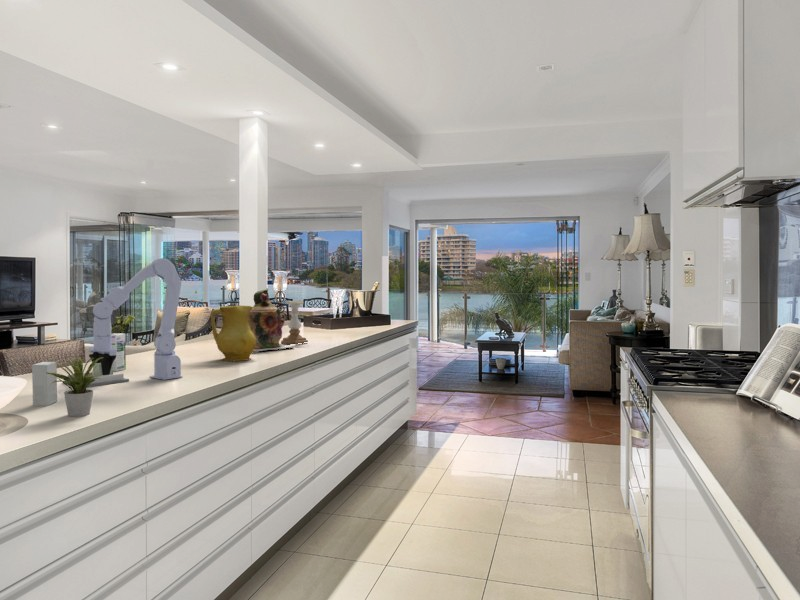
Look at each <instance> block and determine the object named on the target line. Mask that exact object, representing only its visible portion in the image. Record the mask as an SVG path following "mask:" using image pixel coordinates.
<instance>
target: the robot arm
mask: <svg viewBox="0 0 800 600" xmlns="http://www.w3.org/2000/svg"><path fill="white" fill-rule="evenodd" d="M154 277H159V278H160V279H161V280H162V281H163V282H164V283H165V284H166V290H165V296H164V303H163V308H162V315H161V321H160V327H159V329H158V334H157V336H155V339H154V340H153V344H154V345H153V346H154V348H155V349H156V351H154V353H153V354H154V355H153V357H154V359H153V360H154V363H153V365H154V367H153V368H154V370H153V371H154V373H153V375H149V378H151V379H152V378H153V379H158V380H164V381H165V380H171V379H179V378H183V375H182V372H181V371H182V370H181V369H182V366H181V365H182V364H181V363H182V361H181V358H180V357H179V356H178V355H176V351H175V349H176V341H175V335H176V334H175V326H176V319H177V314H178V313H177V312H178V307H179V301H180V295H181V287H182V279H181V278H180V275H179V273H178V271H177V269H176V266H175V265H174V264H173V263H172V261H171V260H170V259H168V258H164V257H163V258H156V259H154V260H153V261H152V262H150V263H149V264H147V265H146V266H144V267H143V268H141V269H140V270H139V271H138V272H137V273H135V274H134V276H133V277H132V278H131V279H129V280H128V281H127V282H126V283H125V284H124V285H122V286H120V285H119V286H116V287H112V288H111V289H110V292H109V293H108V294H106V295H105V296H104V297H101V298H100V299H99V300H100V302H99V301H98V302H97V303H96V304H94V305H93V308H92V314H93V315H94V317H93V324H92V325H93V346H88V352H89V354H88V356H89V358H90V359H91V360H90V361H91V363H92V362H93V361H94V360H96V359H98V358H101V359H99V360H98V361H97V362H96V363H101V366H102V373H103V375H109V374H110V371H111V367H112V364H113V361H114V360H115V358H116V355H117V350H115V349H113V348H111V334H112V322H111V321H112V320H111V319H112V317H111V316H112V314H113V311H117V309H118V308H119V307H120V306H122V305H124V303H125V302H127V300H129V299H130V293H131V292H133V291H134V290H135V289H136V288H137V287H138V286H140V284H142V283H143V282H145V281H146V280H148V279H150V278H154ZM102 357H104V358H102ZM92 358H94V359H92Z"/></svg>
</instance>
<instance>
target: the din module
mask: <svg viewBox="0 0 800 600" xmlns="http://www.w3.org/2000/svg"><path fill="white" fill-rule="evenodd" d="M98 364H99V365H98ZM97 365H98V366H97ZM96 366H97V367H96ZM95 367H96V368H95ZM92 371H93V376H98V377H99V376H107V375H103V373H102V366H101V363H95V365H94V367H93V368H92ZM109 375H114V371H113V364H112V367H111V371H110V374H109Z"/></svg>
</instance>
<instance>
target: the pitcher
mask: <svg viewBox="0 0 800 600" xmlns="http://www.w3.org/2000/svg"><path fill="white" fill-rule="evenodd" d="M252 308H253V306H251V305H231V306H230V305H226V306H222V305H221V306H220V307H219V308H214V309H213V310H212V311H211V314H210V321H211V323H210V324H211V325H210V326H211V328H212V329H211V331H212V336H213V339H214V341H215V344H216V346H217V350H219V352H220V353H222V354H223V356H224V358H222V360H223V361H226V362H242V361H250V360H251V358H250V356H251V355H252V354H253V353H255V352H254V351H253V349H254V347H255V346H256V338H255V336H254V334H253V332H252V331H251V329H250V327H249V324H248V315H249V312H250V311H251V309H252ZM217 314H220V315H221V316H222V320H223V321H222V327H221V329H220V331H219V333H218V331H217V327H216V323H215V316H216V315H217ZM249 359H250V360H249Z"/></svg>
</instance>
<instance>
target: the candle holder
mask: <svg viewBox="0 0 800 600" xmlns="http://www.w3.org/2000/svg"><path fill="white" fill-rule="evenodd" d="M285 304H286V305H289V306H290V308H291V311H290V312H289V314H290V316H291V318H290V321H289V322H288V325H287V326H288V328H289V331H288V332H289V335H287V337H282V340H280V344H281V343H282V345H287V344H298V343H304V342H308V341H309V339H307V338H306V337H303V336H302V335H301V334H300V333H301V330H300V329H301V327H302V323H301V322H300V319H299V314H300V312H299V307H300V306H301V305H303V304H305V302H304V301H298V300H297V301H295V300H293V301H292V300H291V301H285ZM308 343H309V342H308Z"/></svg>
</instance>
